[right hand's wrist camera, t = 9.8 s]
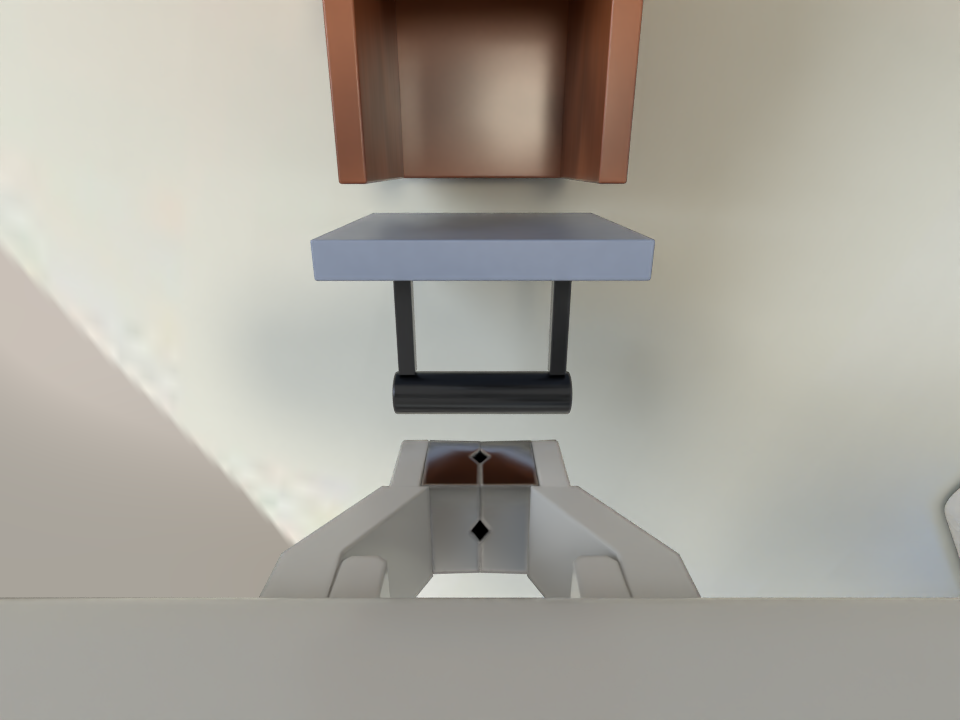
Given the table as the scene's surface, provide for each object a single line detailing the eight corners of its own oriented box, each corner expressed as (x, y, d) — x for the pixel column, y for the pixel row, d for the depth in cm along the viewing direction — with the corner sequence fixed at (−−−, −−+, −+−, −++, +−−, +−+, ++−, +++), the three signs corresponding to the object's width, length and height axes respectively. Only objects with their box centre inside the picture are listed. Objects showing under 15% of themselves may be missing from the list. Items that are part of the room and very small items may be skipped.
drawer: (582, 355, 26) (632, 448, 17) (381, 355, 26) (333, 448, 17) (631, -325, 17) (775, -795, 9) (333, -323, 17) (191, -792, 9)
